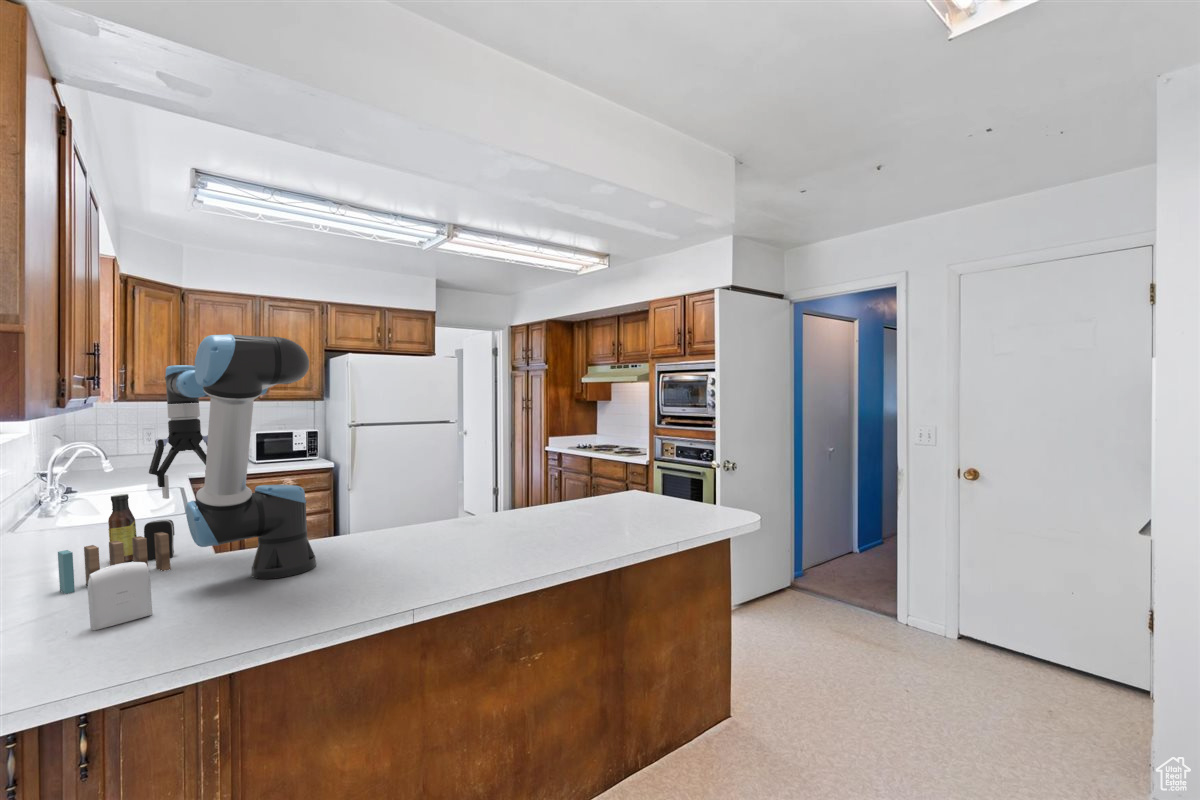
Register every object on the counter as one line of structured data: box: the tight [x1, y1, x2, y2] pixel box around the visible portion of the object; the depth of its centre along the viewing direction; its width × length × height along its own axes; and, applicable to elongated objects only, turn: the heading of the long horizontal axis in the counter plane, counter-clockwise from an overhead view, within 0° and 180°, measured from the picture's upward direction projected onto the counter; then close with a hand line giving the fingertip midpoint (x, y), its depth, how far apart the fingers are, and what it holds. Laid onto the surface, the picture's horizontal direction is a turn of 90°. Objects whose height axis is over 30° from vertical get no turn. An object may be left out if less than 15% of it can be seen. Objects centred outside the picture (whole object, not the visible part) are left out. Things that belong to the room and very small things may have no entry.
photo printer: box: [87, 561, 153, 631], centre depth 120 cm, size 10×4×12 cm, turn 140°
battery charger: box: [143, 519, 176, 561], centre depth 170 cm, size 7×4×11 cm, turn 113°
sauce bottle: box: [107, 493, 138, 563], centre depth 169 cm, size 7×6×20 cm
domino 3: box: [108, 541, 125, 566], centre depth 150 cm, size 5×2×10 cm, turn 55°
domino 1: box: [57, 549, 76, 595], centre depth 142 cm, size 5×2×10 cm, turn 55°
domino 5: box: [154, 532, 171, 572], centre depth 158 cm, size 5×2×10 cm, turn 55°
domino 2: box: [83, 544, 101, 586], centre depth 146 cm, size 5×2×10 cm, turn 55°
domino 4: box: [132, 535, 149, 568], centre depth 154 cm, size 5×2×10 cm, turn 55°
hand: (188, 494), depth 164 cm, fingers open, 10 cm apart
